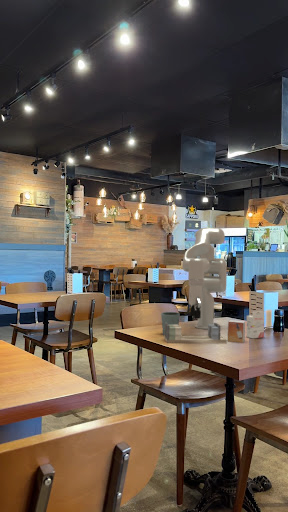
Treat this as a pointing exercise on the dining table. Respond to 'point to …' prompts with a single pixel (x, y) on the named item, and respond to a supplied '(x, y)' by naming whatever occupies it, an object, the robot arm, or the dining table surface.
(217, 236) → the robot arm
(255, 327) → the ink cartridge box
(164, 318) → the grey green cup
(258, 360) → the dining table surface
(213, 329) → the bookshelf
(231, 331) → the small box
